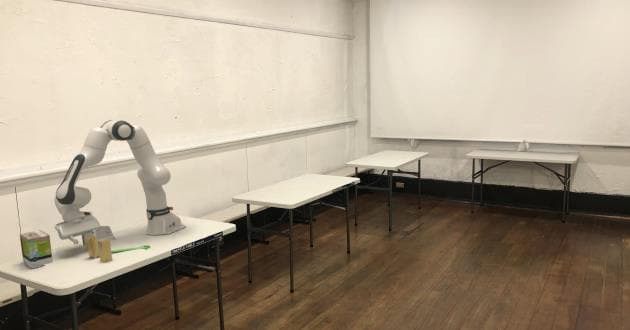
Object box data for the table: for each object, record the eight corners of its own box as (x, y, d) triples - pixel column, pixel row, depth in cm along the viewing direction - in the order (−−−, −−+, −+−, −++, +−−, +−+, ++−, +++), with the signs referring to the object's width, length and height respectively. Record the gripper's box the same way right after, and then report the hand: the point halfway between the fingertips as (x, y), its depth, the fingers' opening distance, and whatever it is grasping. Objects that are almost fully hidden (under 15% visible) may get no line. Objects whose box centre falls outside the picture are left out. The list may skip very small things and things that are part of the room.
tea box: (54, 263, 249) (50, 234, 246) (31, 269, 242) (27, 239, 239) (44, 256, 259) (40, 228, 257) (22, 262, 253) (18, 233, 250)
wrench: (151, 250, 263) (149, 247, 268) (151, 246, 263) (149, 244, 267) (98, 256, 252) (97, 253, 256) (98, 252, 251) (97, 249, 256)
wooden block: (97, 253, 255) (91, 235, 252) (101, 254, 253) (95, 236, 250) (89, 257, 252) (84, 239, 249) (94, 258, 250) (88, 240, 247)
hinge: (87, 248, 271) (82, 230, 271) (83, 249, 274) (78, 231, 274) (116, 239, 283) (111, 222, 284) (112, 241, 286) (107, 224, 287)
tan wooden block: (107, 258, 249) (105, 238, 247) (112, 259, 247) (109, 240, 245) (100, 260, 246) (97, 241, 244) (104, 262, 243) (102, 242, 242)
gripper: (54, 220, 251) (67, 242, 246) (94, 211, 267) (106, 232, 262) (51, 228, 254) (63, 250, 250) (90, 218, 270) (102, 239, 266)
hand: (85, 240), depth 256 cm, fingers open, 8 cm apart
